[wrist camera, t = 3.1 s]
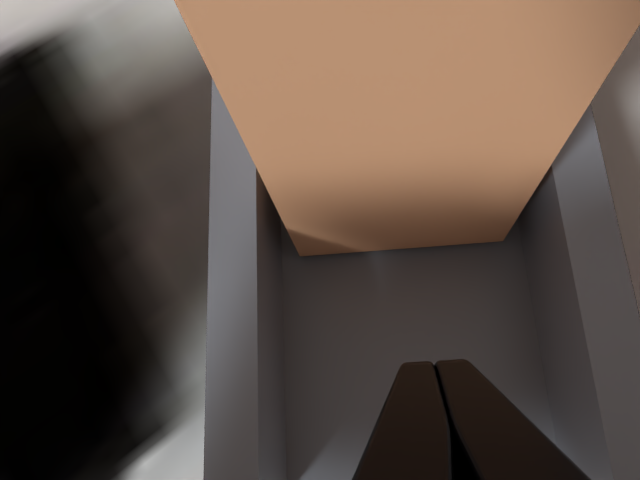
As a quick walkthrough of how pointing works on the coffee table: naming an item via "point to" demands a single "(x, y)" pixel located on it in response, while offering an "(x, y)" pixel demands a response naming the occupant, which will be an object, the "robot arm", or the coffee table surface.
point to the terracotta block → (405, 107)
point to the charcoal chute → (415, 324)
